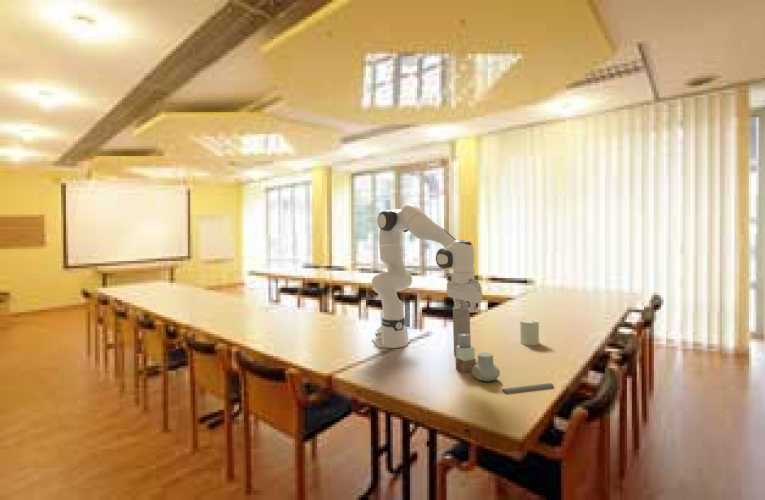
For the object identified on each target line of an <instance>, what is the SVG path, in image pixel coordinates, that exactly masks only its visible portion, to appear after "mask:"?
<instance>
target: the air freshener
mask: <svg viewBox="0 0 765 500" xmlns="http://www.w3.org/2000/svg"><path fill="white" fill-rule="evenodd" d="M471 372H472V375H473V376H474V377H475V378H476V379H477V380H479V381H480V382H493V381H495V380H497V379H498V378H499V377H500V375H501V371H500V369H499V367H498V366H497V365H496V364H494V354H492V353H490V352H480V353H478V355H477V363H476V365H475V366H474V367H473V368H472V371H471Z"/></svg>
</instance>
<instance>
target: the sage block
mask: <svg viewBox="0 0 765 500" xmlns="http://www.w3.org/2000/svg"><path fill="white" fill-rule="evenodd" d="M475 351H476V350H475V346H472V345H471V347H470V348H460V347H459V346H456V355H455V356H456V357H455V359H456V358H459V359H461V360H463V361H467V360H472V359H476V358H475V357H476V355H475V354H476V353H475Z"/></svg>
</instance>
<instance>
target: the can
mask: <svg viewBox="0 0 765 500" xmlns="http://www.w3.org/2000/svg"><path fill="white" fill-rule="evenodd" d="M519 324H520V327H519V329H520V340H519V342H520V344H522V345H525V346H537V345H538V346H539V345H540V338H539V337H540V336H539V334H540V332H539V331H540V329H539V325H540V322H539V320H537V319H535V318H534V319H533V318H532V319H531V318H522V319H520V320H519Z"/></svg>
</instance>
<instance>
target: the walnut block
mask: <svg viewBox="0 0 765 500" xmlns="http://www.w3.org/2000/svg"><path fill="white" fill-rule="evenodd" d="M476 362H477V360H476V358H475V359H472V360H467V361H463V360H461V359H459V358H456V357H455V369H456V370H457V369H458V371H460V372H461V373H463V374H466V373H470V372H472V368H473V367H474V366H475V365H476V364H477V363H476Z"/></svg>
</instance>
